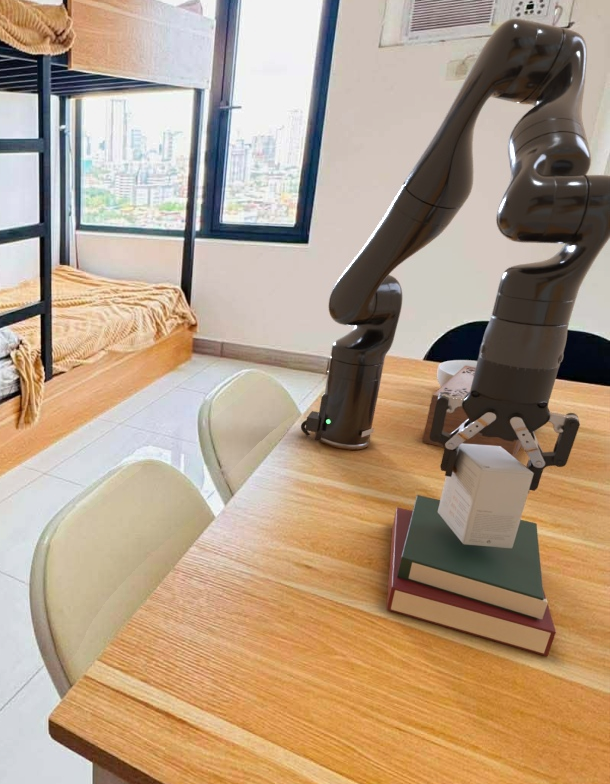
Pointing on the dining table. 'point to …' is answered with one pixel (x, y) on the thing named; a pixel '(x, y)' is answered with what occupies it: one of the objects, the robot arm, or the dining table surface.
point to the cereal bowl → (451, 369)
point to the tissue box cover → (463, 413)
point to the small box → (485, 496)
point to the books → (468, 580)
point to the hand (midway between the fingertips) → (485, 482)
